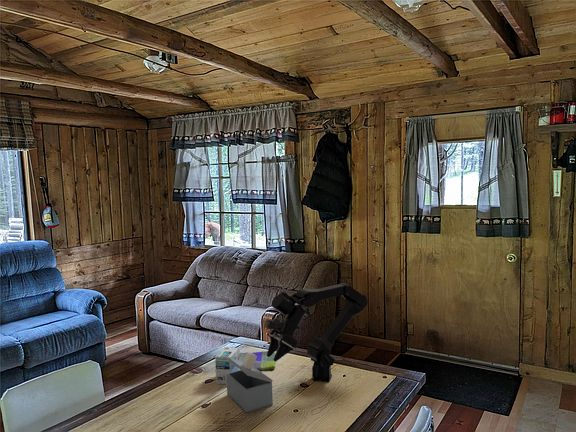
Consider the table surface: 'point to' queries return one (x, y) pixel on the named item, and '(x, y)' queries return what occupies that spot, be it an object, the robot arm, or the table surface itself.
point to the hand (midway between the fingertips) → (270, 358)
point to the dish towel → (261, 360)
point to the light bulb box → (226, 363)
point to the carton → (249, 391)
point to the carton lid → (250, 367)
